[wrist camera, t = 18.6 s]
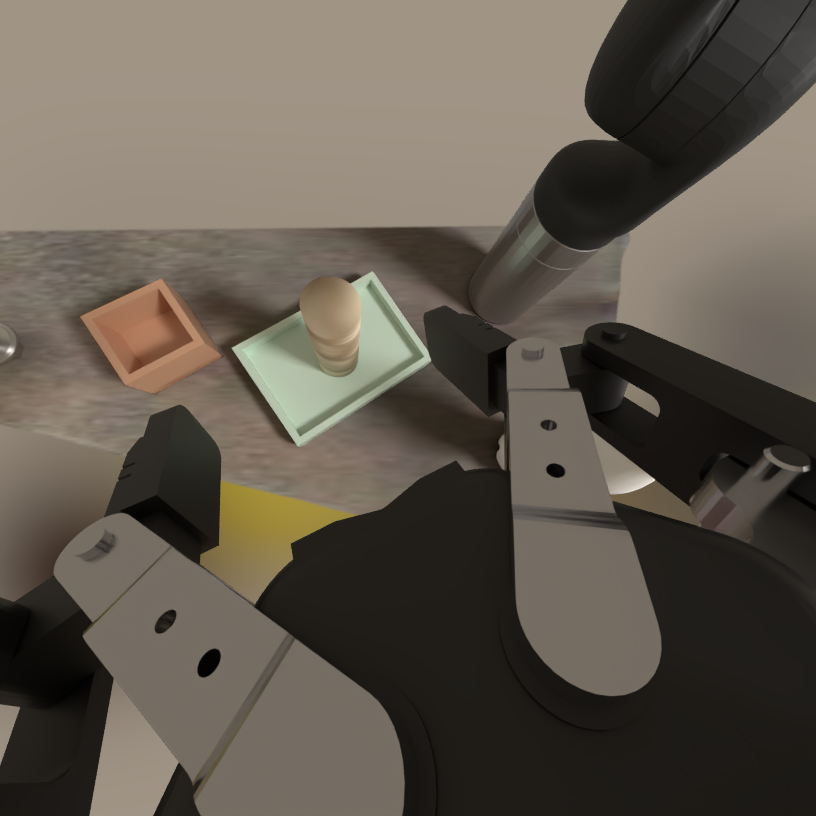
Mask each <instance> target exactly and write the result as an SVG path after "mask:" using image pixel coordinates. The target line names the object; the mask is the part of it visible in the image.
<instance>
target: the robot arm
mask: <svg viewBox="0 0 816 816" xmlns="http://www.w3.org/2000/svg"><path fill="white" fill-rule="evenodd" d="M815 82H816V0H628V1H627V2H626V4H625V5H624V7H623V9H622V10H621V12H620V13H619V15H618V17H617V18H616V20H615V22H614V24H613V26H612V27H611V29H610V31H609V33H608V34H607V36H606V38H605V40H604V42H603V44H602V46H601V48H600V50H599V52H598V54H597V56H596V59H595V61H594V63H593V66H592V68H591V71H590V74H589V78H588V81H587V84H586V89H585V107H586V110H587V113H588V115H589V117H590V118H591V119H592V120H593V121H594V122H595V123H596V124H597V125H598V126H599V127H600V128H602V129H603V130H604V131H605V132H606V133H608V134H609V135H611V136H613V137H614V138H617V140H619V141H607V140H583V141H578V142H575V143H572V144H570V145H568V146H566V147H564V148H563V149H561V150H560V151H559V152H558V153H557V154H556V155H555V156H554V157H553V158H552V159H551V161H550V162H549V163H548V165H547V166H546V168H545V169H544V171H543V172H542V174H541V175H540V177H539V178H538V180H537V181H536V183H535V184H534V186H533V187H532V189H531V190H530V192H529V193H528V194H527V196H526V197H525V199H524V200H523V202H522V203H521V205H520V207H519V208H518V210H517V211H516V213H515V214H514V216H513V217H512V219H511V220H510V222H509V223H508V224H507V226H506V227H505V229H504V230H503V232H502V233H501V235H500V236H499V238H498V239H497V241H496V242H495V244H494V245H493V247H492V248H491V250H490V251H489V253H488V254H487V256H486V257H485V259H484V260H483V261H482V263H481V264H480V266H479V267H478V269H477V270H476V272H475V273H474V275H473V276H472V278H471V280H470V282H469V285H468V298H469V301H470V304H471V306H472V308H473V309H474V311H475V312H476V313H477V314H478V315H479V316H480V317H481V318H483V319H484V320H486V321H488V322H490V323H494V324H508V323H510V322H513V321H514V320H516V319H517V318H518V317H520V316H521V315H522V314H523V313H524V312H526V311H527V310H528V309H529V308H531V307H532V306H533V305H534V304H536V303H537V302H538V301H539V300H540V299H542V298H543V297H544V296H545V295H546V294H548V293H549V292H550V291H551V290H552V289H554V288H555V287H556V286H557V285H559V284H560V283H561V282H562V281H563V280H565V279H566V278H567V277H568V276H569V275H571V274H572V273H573V272H574V271H575V270H577V269H578V268H579V267H580V266H581V265H583V264H584V263H585V262H586V261H587V260H588V259H590V258H591V257H592V256H593V255H595V254H596V253H597V252H598V251H599V250H601V249H602V248H603V247H604V246H605V245H607V244H608V243H609V242H611V241H612V240H613V239H614V238H616V237H619V236H621V235H624V234H626V233H628V232H629V231H631V230H633V229H634V228H635V227H637V226H638V225H640V224H641V223H642V222H644V221H645V220H646V219H647V218H649V217H650V216H651V215H653V214H654V213H655V212H657V211H658V210H659V209H661V208H662V207H664V206H665V205H666V204H668V203H669V202H670V201H672V200H673V199H674V198H676V197H677V196H679V195H680V194H681V193H683V192H684V191H686V190H687V189H688V188H690V187H691V186H692V185H694V184H695V183H697V182H698V181H699V180H701V179H702V178H704V177H705V176H706V175H708V174H709V173H710V172H712V171H713V170H714V169H716V168H717V167H719V166H720V165H721V164H723V163H724V162H725V161H726V160H728V159H729V158H731V157H732V156H733V155H734V154H736V153H737V152H739V151H740V150H741V149H743V148H744V147H745V146H746V145H748V144H749V143H750V142H751V141H752V140H754V139H755V138H756V137H757V136H758V135H760V134H761V133H762V132H763V131H764V130H766V129H767V128H768V127H769V126H770V125H772V124H773V123H774V122H775V121H776V120H777V119H779V118H780V117H781V116H782V115H783V114H784V113H785V112H786V111H787V110H788V109H789V108H790V107H791V106H792V105H793V104H794V103H795V102H796V101H797V100H799V99H800V97H802V96H803V94H805V93H806V92H807V90H809V89H810V88H811V87H812V86H813V85H814V84H815ZM424 325H425V332H426V338H427V345H428V351H429V356H430V359H431V361H432V363H433V365H434V366H435V367H436V368H437V369H438V370H439V371H440V372H441V373H442V374H443V375H444V376H445V377H446V378H447V379H448V380H449V381H450V382H452V383H453V384H454V385H455V386H456V387H457V388H458V389H459V390H460V391H461V392H462V393H463V394H464V395H465V396H467V397H468V398H469V399H470V400H471V401H472V402H473V403H474V404H475V405H476V406H477V407H478V408H479V409H480V410H482V411H483V412H484V413H485V414H486V415H487V416H488V417H489V416H491V415H493V414H496V413H498V412H500V411H502V412H503V413H504V465H505V467H504V470H502V469H491V468H486V469H473V470H467V471H464V470H463V468H462V467H461V466H460V465H459V463H458V462H457V461H454V462H452V463H450V464H448V465H446V466H444V467H442V468H440V469H438V470H436V471H434V472H432V473H430V474H428V475H426V476H424V477H422V478H420V479H419V480H418V481H416V482H415V483H414V484H413V485H412V486H410V487H409V488H408V489H407V490H405V491H404V492H403V493H402V494H401V495H399V496H398V497H397V498H396V499H395V500H393V501H392V502H391V503H390V504H389V505H387V506H386V507H385V508H383V509H381V510H378V511H374V512H370V513H366V514H362V515H358V516H354V517H351V518H347V519H343V520H339V521H335V522H333V523H331V524H329V525H327V526H325V527H323V528H321V529H319V530H317V531H315V532H313V533H311V534H309V535H307V536H305V537H303V538H301V539H299V540H297V541H295V542H293V543H291V548H292V554H293V560H292V561H291V562H289V563H288V564H287V565H286V566H285V567H284V568H283V569H282V570H281V571H280V572H279V573H278V574H277V575H276V576H275V578H274V579H273V580H272V581H271V582H270V583H269V585H268V586H267V587H266V589H265V590H264V592H263V593H262V594H261V596H260V597H259V599H258V601H257V602H256V604H254V603H253V602H251V601H250V600H249V599H247V598H246V597H244V596H243V595H242V594H240V593H239V592H238V591H236V590H235V589H233V588H232V587H231V586H229V585H228V584H227V583H225V582H224V581H222V580H221V579H220V578H218V577H217V576H216V575H214V574H213V573H211V572H210V571H209V570H207V569H206V568H204V567H203V566H201V565H200V554H202V553H204V552H206V551H208V550H210V549H212V548H214V547H216V546H219V519H220V518H219V516H220V481H221V454H220V451H219V448H218V446H217V444H216V443H215V441H214V440H213V439H212V438H211V436H210V435H209V434H208V433H207V432H206V431H205V429H204V428H203V427H202V426H201V425H200V423H199V422H198V421H197V420H196V419H195V418H194V416H193V415H192V414H191V413H190V412H189V411H188V410H187V409H186V408H185V407H184V406H182V405H177V406H175V407H172V408H169V409H167V410H164V411H161V412H159V413H156V414H153V415H151V416H150V418H149V421H148V425H147V428H146V431H145V434H144V437H141V438H139V440H138V441H137V442H136V443H135V445H134V446H133V447H132V448H131V449H130V451H129V452H128V453H127V456H126V458H125V461H124V464H123V469H122V470H121V473H120V475H119V478H118V479H119V481H118V482H117V483H116V486H115V489H114V491H113V494H112V497H111V500H110V502H109V505H108V508H107V511H106V513H105V516H104V518H102V519H100V520H98V521H97V522H95V523H93V524H92V525H90V526H89V527H87V528H86V529H85V530H83V531H82V532H81V533H79V534H78V535H77V536H76V537H75V538H74V539H73V540H72V541H71V542H70V543H69V544H68V545H67V547H66V548H65V549H64V550H63V551H62V553H61V554H60V556H59V558H58V560H57V561H56V564H55V567H54V576H52V577H51V578H50V579H48V580H46V581H45V582H43V583H42V584H40V585H39V586H37V587H36V588H34V589H33V590H31V591H30V592H29V593H27V594H25V595H24V596H23V597H21V598H19V599H18V600H16V601H15V602H12V601H10V600H7V599H4V598H1V597H0V704H3V705H9V706H17V707H20V710H19V713H18V716H17V719H16V721H15V724H14V727H13V730H12V733H11V736H10V739H9V742H8V745H7V748H6V751H5V753H4V757H3V759H2V762H1V765H0V816H89V814H90V809H91V803H92V797H93V792H94V786H95V780H96V775H97V769H98V764H99V757H100V752H101V747H102V741H103V735H104V730H105V724H106V718H107V712H108V707H109V701H110V696H111V690H112V684H113V679H115V680H116V682H117V683H118V684H119V685H120V687H121V688H122V689H123V690H124V692H125V693H126V694H127V696H128V697H129V698H130V700H131V701H132V702H133V703H134V705H135V706H136V707H137V708H138V710H139V711H140V712H141V714H142V715H143V716H144V718H145V719H146V720H147V721H148V723H149V724H150V725H151V727H152V728H153V729H154V731H155V732H156V733H157V734H158V736H159V737H160V738H161V740H162V741H163V742H164V743H165V745H166V746H167V747H168V749H169V750H170V751H171V752H172V754H173V755H174V756H175V758H176V759H177V760H178V761H179V763H178V765H177V767H176V769H175V771H174V773H173V775H172V778H171V780H170V782H169V784H168V786H167V788H166V790H165V792H164V795H163V796H162V798H161V801H160V803H159V805H158V807H157V809H156V811H155V813H154V815H153V816H816V402H813V401H811V400H808V399H806V398H804V397H801V396H799V395H796V394H793V393H792V392H789V391H787V390H784V389H782V388H780V387H777V386H775V385H772V384H770V383H767V382H765V381H763V380H760V379H758V378H755V377H753V376H751V375H748V374H746V373H744V372H741V371H739V370H737V369H734V368H732V367H729V366H727V365H724V364H722V363H720V362H717V361H715V360H712V359H710V358H708V357H705V356H703V355H701V354H698V353H696V352H693V351H691V350H689V349H686V348H684V347H681V346H679V345H677V344H674V343H672V342H669V341H667V340H665V339H662V338H660V337H657V336H655V335H652V334H650V333H648V332H645V331H643V330H641V329H638V328H636V327H633V326H630V325H627V324H623V323H612V322H609V323H600V324H596V325H593V326H591V327H589V328H588V329H587V330H586V331H585V334H584V339H583V344H578V345H573V346H568V347H562V348H559V347H558V345H557V344H555V343H554V342H552V341H550V340H547V339H542V338H524V339H520V340H516V339H514V338H512V337H511V336H509V335H507V334H506V333H504V332H502V331H500V330H499V329H497V328H493V326H492V325H490V324H488V323H485V321H483V320H481V319H479V318H478V317H476V316H472V315H467V314H459V313H457V312H456V311H454V310H452V309H451V308H449V307H447V306H445V305H444V306H441V307H439V308H436V309H433V310H431V311H428V312H425V314H424ZM628 383H631V384H633V385H635V386H636V387H638V388H640V389H642V390H643V391H645V392H647V393H649V394H650V395H652V396H653V397H654V398H655V399H656V400H657V402H658V403H659V406H660V414H659V416H658V417H656V416H655V415H653V414H651V413H650V412H648V411H647V410H645V409H643V408H642V407H640V406H638V405H637V404H635V403H634V402H632V401H630V400H629V399H627V398H625V397H624V394H625V391H626V388H627V385H628ZM592 431H593V432H594V433H596V434H597V435H598V436H600V437H601V438H602V439H603V440H605V441H606V442H607V443H609V444H610V445H611V446H612V447H614V448H615V449H616V450H618V451H619V452H620V453H621V454H623V455H624V456H625V457H627V458H628V459H629V460H630V461H632V462H633V463H634V464H636V465H637V466H638V467H639V468H641V469H642V470H643V471H645V472H646V473H647V474H648V475H650V476H651V477H652V478H654V479H655V480H656V481H657V482H659V483H660V484H661V485H663V486H664V487H665V488H666V489H668V490H669V491H670V492H672V493H673V494H674V495H675V496H677V497H678V498H680V499H681V500H682V501H683V502H684V503H686V504H687V505H688V506H690V507H691V511H692V513H693V515H694V516H695V518H696V519H697V520H698V522H699V523H700V525H699V526H696V525H692V524H689V523H685V522H682V521H679V520H675V519H672V518H668V517H665V516H662V515H658V514H655V513H652V512H648V511H645V510H641V509H638V508H634V507H631V506H628V505H625V504H621V503H618V502H614V501H612V500H611V496H610V493H609V489H608V486H607V482H606V479H605V475H604V472H603V468H602V465H601V461H600V458H599V454H598V451H597V447H596V444H595V440H594V437H593V433H592Z"/></svg>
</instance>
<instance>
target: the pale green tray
mask: <svg viewBox="0 0 816 816" xmlns="http://www.w3.org/2000/svg"><path fill="white" fill-rule="evenodd" d="M350 284H351V285H352V286H353V287H354V288H355V289H356V291H357V292H358V294H359V296H360V299H361V303H362V312H361V325H360V339H359V353H358V363H357V366H356V368H355V370H354V371H353V372H352V373H351V374H349V375H347V376H345V377H333V376H330V375H328V374H326V373H325V372H324V371H323V370H322V368H321V367H320V365H319V362H318V359H317V356H316V353H315V351H314V348H313V345H312V342H311V339H310V336H309V334H308V331H307V328H306V325H305V322H304V319H303V317H302V314H301V311H299V312H297V313H295V314H293V315H291V316H290V317H288V318H286V319H284V320H282V321H280V322H278V323H277V324H275V325H273V326H271V327H269V328H267V329H266V330H264V331H262V332H260V333H258V334H256V335H254V336H253V337H251V338H249V339H247V340H245V341H243V342H242V343H240V344H238V345H236V346H234V347H232V349H233V351H234V352H235V354H236V355H237V357H238V358H239V360H240V361H241V363H242V364H243V366H244V367H245V369H246V370H247V372H248V373H249V375H250V376H251V378H252V379H253V381H254V382H255V384H256V385H257V387H258V388H259V390H260V391H261V393H262V394H263V395H264V397H265V398H266V400H267V401H268V403H269V404H270V406H271V407H272V409H273V410H274V412H275V413H276V415H277V416H278V418H279V419H280V421H281V422H282V424H283V425H284V427H285V428H286V430H287V431H288V433H289V434H290V436H291V437H292V439H293V440H294V441H295V443H296V444H297V446H299V447H302V446H303V445H305V444H306V443H308V442H309V441H311V440H312V439H314V438H315V437H317V436H319V435H320V434H322V433H323V432H325V431H326V430H328V429H329V428H331V427H332V426H334V425H335V424H337V423H338V422H340V421H342V420H343V419H345V418H346V417H348V416H349V415H351V414H352V413H354V412H355V411H357V410H358V409H360V408H362V407H363V406H365V405H366V404H368V403H369V402H371V401H372V400H374V399H375V398H377V397H378V396H380V395H381V394H383V393H385V392H386V391H388V390H389V389H391V388H392V387H394V386H395V385H397V384H398V383H400V382H401V381H403V380H405V379H406V378H408V377H409V376H411V375H412V374H414V373H415V372H417V371H418V370H420V369H421V368H423V367H424V366H426V365H428V364H429V363H430V361H431V359H430V356H429V352H428V351H427V349H426V348H425V346H424V345H423V344H422V342H421V341H420V339H419V338H418V336H417V335H416V333H415V332H414V330H413V329H412V328H411V326H410V325H409V323H408V322H407V320H406V319H405V317H404V316H403V315H402V313H401V312H400V310H399V309H398V307H397V306H396V304H395V303H394V301H393V300H392V299H391V297H390V296H389V294H388V293H387V291H386V290H385V288H384V287H383V286H382V284H381V283H380V281H379V280H378V278H377V277H376V275H375V274H374V273H373V272H371V273H369V274H367V275H365V276H363V277H361V278H360V279H358V280H356V281H354V282H352V283H350Z"/></svg>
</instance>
